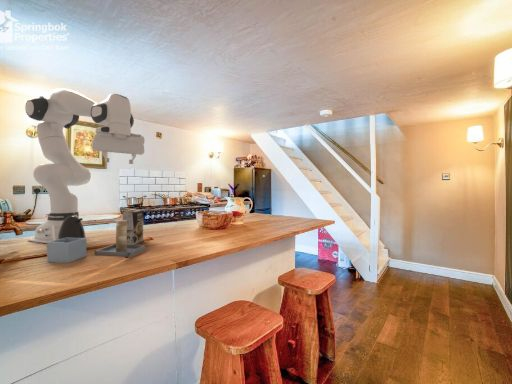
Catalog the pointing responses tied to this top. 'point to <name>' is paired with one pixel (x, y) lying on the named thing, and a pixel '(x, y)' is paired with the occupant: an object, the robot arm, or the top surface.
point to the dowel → (121, 235)
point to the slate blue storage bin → (66, 249)
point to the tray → (130, 252)
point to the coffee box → (134, 226)
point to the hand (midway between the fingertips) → (119, 163)
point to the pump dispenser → (71, 228)
